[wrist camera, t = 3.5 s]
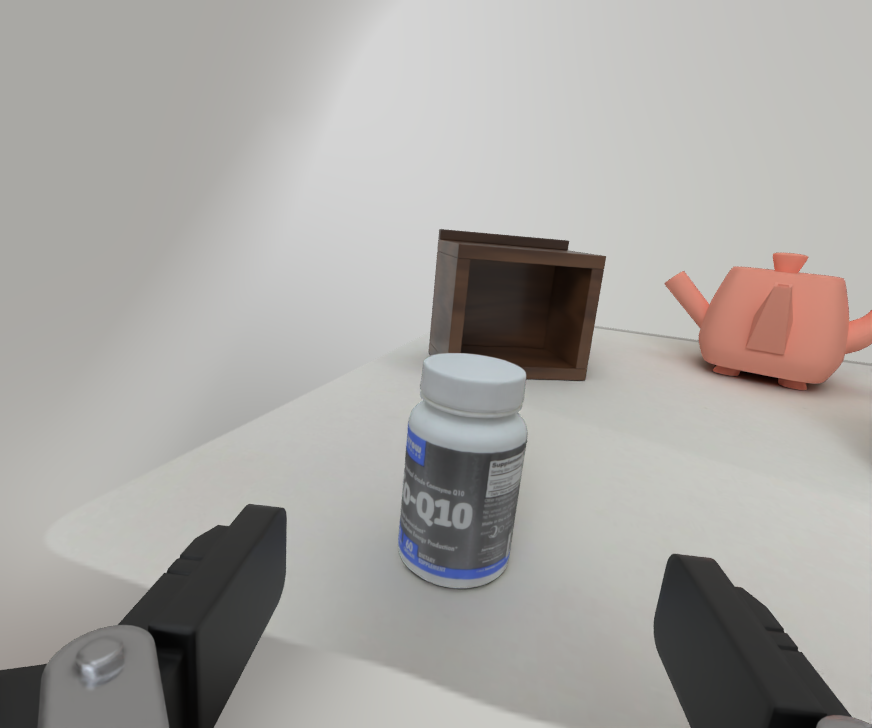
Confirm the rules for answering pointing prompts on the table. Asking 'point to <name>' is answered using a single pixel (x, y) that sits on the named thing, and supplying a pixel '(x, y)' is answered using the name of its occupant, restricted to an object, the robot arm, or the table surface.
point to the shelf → (516, 302)
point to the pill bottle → (463, 470)
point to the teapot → (775, 322)
